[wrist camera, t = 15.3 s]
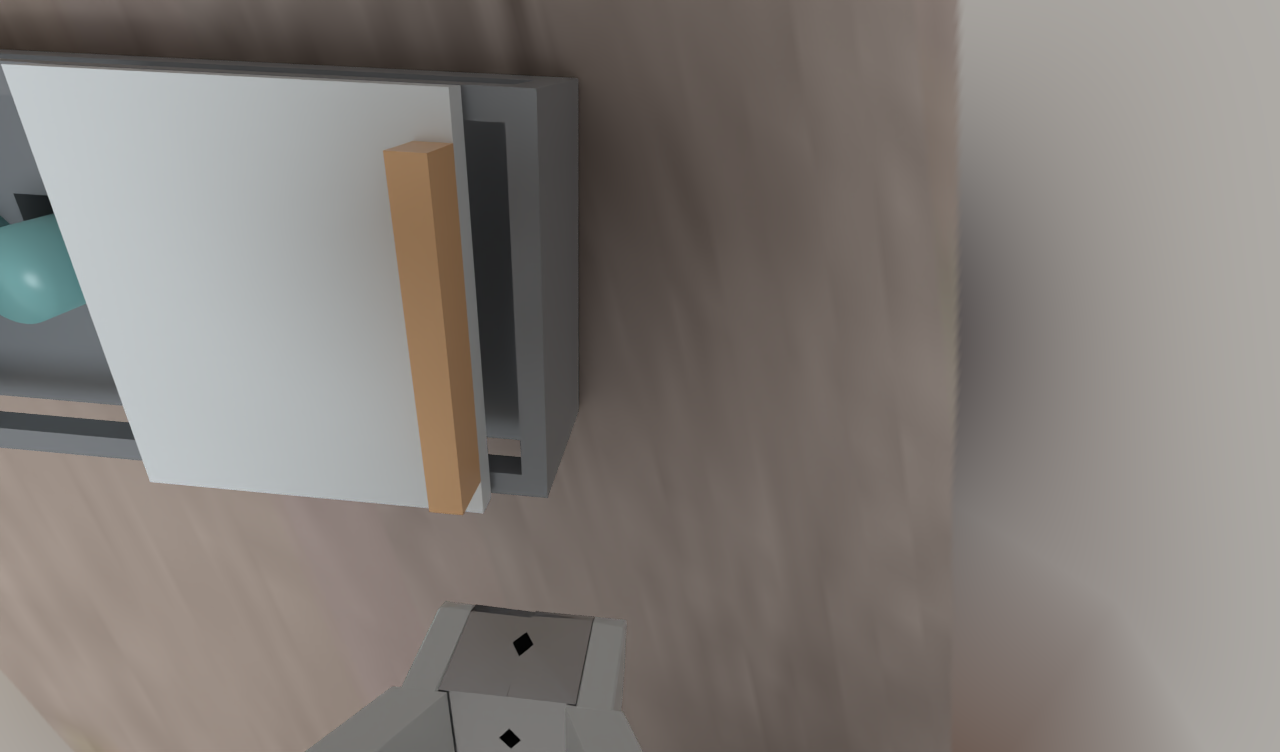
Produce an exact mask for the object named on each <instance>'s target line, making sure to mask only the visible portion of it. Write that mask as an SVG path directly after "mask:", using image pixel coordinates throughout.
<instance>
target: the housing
mask: <svg viewBox="0 0 1280 752" xmlns="http://www.w3.org/2000/svg"><path fill="white" fill-rule="evenodd" d="M22 63H37V64H56V65H76V66H95V67H115V68H134V69H154V70H173V71H193V72H212V73H232V74H251V75H271V76H291V77H310V78H330V79H349V80H369V81H388V82H408V83H427V84H447V85H460V86H461V99H462V113H463V126H464V140H465V153H466V166H467V180H468V193H469V207H470V220H471V233H472V247H473V260H474V273H475V287H476V300H477V314H478V327H479V340H480V354H481V367H482V381H483V394H484V407H485V421H486V434H487V437H492V438H503V439H515V440H520V446H521V457H512V456H501V455H490V454H488V461H489V474H490V488H491V493H500V494H511V495H522V496H532V497H543V498H548V495H549V492H550V490H551V487H552V484H553V481H554V478H555V476H556V473H557V470H558V467H559V465H560V462H561V459H562V456H563V453H564V451H565V448H566V445H567V442H568V439H569V437H570V434H571V431H572V428H573V425H574V423H575V420H576V417H577V414H578V412H579V333H578V78H567V77H547V76H527V75H507V74H486V73H466V72H446V71H426V70H406V69H386V68H366V67H346V66H326V65H306V64H286V63H266V62H246V61H226V60H206V59H186V58H166V57H146V56H126V55H106V54H86V53H66V52H45V51H25V50H5V49H0V227H3V226H7V225H11V224H15V223H19V222H22V221H26V220H30V219H34V218H38V217H42V216H46V215H50V214H54V212H53V209H52V206H51V203H50V200H49V198H48V195H47V192H46V189H45V186H44V184H43V181H42V178H41V175H40V172H39V170H38V167H37V164H36V161H35V158H34V156H33V153H32V150H31V147H30V144H29V142H28V139H27V136H26V133H25V130H24V128H23V125H22V122H21V119H20V116H19V114H18V111H17V108H16V105H15V102H14V100H13V97H12V94H11V91H10V88H9V86H8V83H7V80H6V77H5V74H4V72H3V69H2V66H1V64H22ZM0 395H7V396H19V397H30V398H42V399H53V400H65V401H76V402H88V403H100V404H111V405H123V404H122V402H121V399H120V396H119V393H118V390H117V388H116V385H115V382H114V379H113V376H112V374H111V371H110V368H109V365H108V363H107V360H106V357H105V354H104V351H103V349H102V346H101V343H100V340H99V337H98V335H97V332H96V329H95V326H94V323H93V321H92V318H91V315H90V312H89V309H88V307H87V304H84V305H82V306H80V307H77V308H75V309H72V310H70V311H68V312H65V313H63V314H60V315H58V316H55V317H53V318H51V319H48V320H46V321H43V322H40V323H36V324H24V323H19V322H15V321H12V320H10V319H7V318H5V317H3V316H1V315H0ZM0 447H1V448H12V449H23V450H34V451H45V452H55V453H66V454H77V455H88V456H99V457H110V458H120V459H131V460H142V458H141V455H140V452H139V449H138V446H137V444H136V441H135V438H134V435H133V432H132V430H131V427H130V424H129V423H128V422H116V421H105V420H94V419H82V418H71V417H60V416H48V415H37V414H26V413H15V412H3V411H0ZM142 461H143V460H142Z"/></svg>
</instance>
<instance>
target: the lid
mask: <svg viewBox="0 0 1280 752" xmlns="http://www.w3.org/2000/svg"><path fill="white" fill-rule="evenodd" d="M1 66H2V69H3V72H4V74H5V77H6V80H7V83H8V86H9V88H10V91H11V94H12V97H13V100H14V102H15V105H16V108H17V111H18V114H19V116H20V119H21V122H22V125H23V128H24V130H25V133H26V136H27V139H28V142H29V144H30V147H31V150H32V153H33V156H34V158H35V161H36V164H37V167H38V170H39V172H40V175H41V178H42V181H43V184H44V186H45V189H46V192H47V195H48V198H49V200H50V203H51V206H52V209H53V212H54V214H55V217H56V220H57V223H58V225H59V228H60V231H61V234H62V237H63V239H64V242H65V245H66V248H67V251H68V253H69V256H70V259H71V262H72V265H73V267H74V270H75V273H76V276H77V279H78V281H79V284H80V287H81V290H82V293H83V295H84V298H85V301H86V304H87V307H88V309H89V312H90V315H91V318H92V321H93V323H94V326H95V329H96V332H97V335H98V337H99V340H100V343H101V346H102V349H103V351H104V354H105V357H106V360H107V363H108V365H109V368H110V371H111V374H112V376H113V379H114V382H115V385H116V388H117V390H118V393H119V396H120V399H121V402H122V404H123V407H124V410H125V413H126V416H127V418H128V421H129V424H130V427H131V430H132V432H133V435H134V438H135V441H136V444H137V446H138V449H139V452H140V455H141V458H142V460H143V463H144V466H145V469H146V472H147V474H148V477H149V480H150V482H157V483H167V484H178V485H188V486H199V487H210V488H220V489H231V490H241V491H252V492H263V493H273V494H284V495H294V496H305V497H315V498H326V499H337V500H347V501H358V502H368V503H379V504H390V505H400V506H411V507H421V508H429V512H434V513H445V514H456V515H463V514H464V513H465V512H474V513H484V511H485V509H486V507H487V505H488V503H489V501H490V499H491V488H490V474H489V461H488V448H487V434H486V421H485V407H484V394H483V381H482V367H481V354H480V340H479V327H478V314H477V300H476V287H475V273H474V260H473V247H472V233H471V220H470V207H469V193H468V180H467V166H466V153H465V140H464V126H463V113H462V99H461V86H460V85H447V84H427V83H408V82H388V81H369V80H349V79H330V78H310V77H291V76H271V75H251V74H232V73H212V72H193V71H173V70H154V69H134V68H115V67H95V66H76V65H56V64H37V63H22V64H1Z"/></svg>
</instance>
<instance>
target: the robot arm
mask: <svg viewBox="0 0 1280 752" xmlns="http://www.w3.org/2000/svg"><path fill="white" fill-rule="evenodd" d="M626 628H627V624H626V620H622V619H611V618H601V617H594V616H582V615H571V614H560V613H549V612H537V611H536V612H530V611H522V610H514V609H506V608H498V607H491V606H483V605H472V604H463V603H455V602H447V601H446V602H445V603H444V604H443V605H442V606H441V607H440V608H439V609H438V611H437V613H436V616H435V618H434V620H433V622H432V624H431V626H430V628H429V630H428V632H427V634H426V637H425V639H424V641H423V643H422V645H421V647H420V649H419V651H418V653H417V655H416V657H415V660H414V662H413V664H412V666H411V668H410V670H409V672H408V674H407V676H406V678H405V681H404V683H403V685H402V687H395V686H392V687H391V688H389V689H388V690H387V691H385V692H384V693H383V694H381V695H380V696H379V697H377V698H376V699H375V700H373V701H372V702H371V703H369V704H368V705H367V706H365V707H364V708H363V709H361V710H360V711H359V712H357V713H356V714H355V715H353V716H352V717H351V718H349V719H348V720H347V721H345V722H344V723H343V724H341V725H340V726H339V727H337V728H336V729H335V730H333V731H332V732H330V733H329V734H328V735H326V736H325V737H324V738H322V739H321V740H320V741H318V742H317V743H316V744H314V745H313V746H312V747H310V748H309V749H308V750H306V751H305V752H643V751H642V749H641V747H640V745H639V743H638V741H637V739H636V737H635V735H634V733H633V731H632V729H631V727H630V725H629V723H628V721H627V719H626V717H625V715H624V713H623V712H622V711H621V707H622V696H623V682H624V669H625V648H626Z"/></svg>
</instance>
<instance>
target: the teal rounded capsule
mask: <svg viewBox="0 0 1280 752" xmlns="http://www.w3.org/2000/svg"><path fill="white" fill-rule="evenodd" d="M84 304H86V301H85V298H84V295H83V293H82V290H81V287H80V284H79V281H78V279H77V276H76V273H75V270H74V267H73V265H72V262H71V259H70V256H69V253H68V251H67V248H66V245H65V242H64V239H63V237H62V234H61V231H60V228H59V225H58V223H57V220H56V217H55V214H50V215H46V216H42V217H38V218H34V219H30V220H26V221H22V222H19V223H15V224H11V225H7V226H3V227H0V315H1V316H3V317H5V318H7V319H10V320H12V321H15V322H19V323H24V324H36V323H40V322H43V321H46V320H48V319H51V318H53V317H55V316H58V315H60V314H63V313H65V312H68V311H70V310H72V309H75V308H77V307H80V306H82V305H84Z"/></svg>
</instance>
